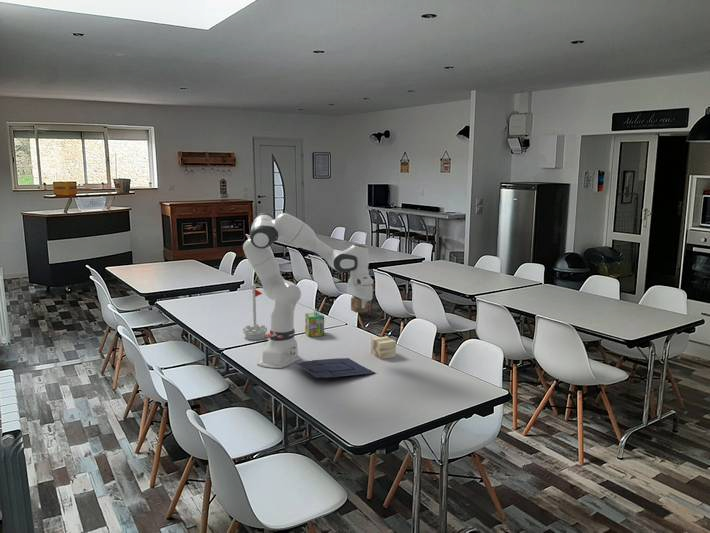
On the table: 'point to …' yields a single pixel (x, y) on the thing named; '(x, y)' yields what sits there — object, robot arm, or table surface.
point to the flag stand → (255, 330)
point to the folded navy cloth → (333, 367)
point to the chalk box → (314, 324)
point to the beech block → (383, 347)
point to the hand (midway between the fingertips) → (359, 306)
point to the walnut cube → (358, 305)
